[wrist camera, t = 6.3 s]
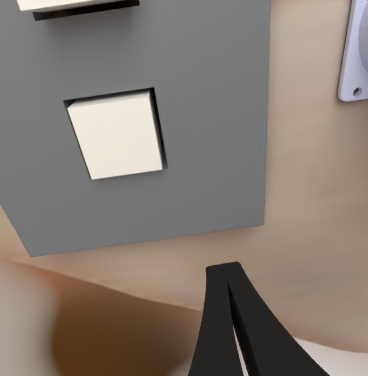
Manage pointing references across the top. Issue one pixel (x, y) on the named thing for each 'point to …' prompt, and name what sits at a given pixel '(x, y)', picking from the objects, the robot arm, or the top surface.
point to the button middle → (58, 4)
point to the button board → (168, 113)
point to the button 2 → (118, 133)
